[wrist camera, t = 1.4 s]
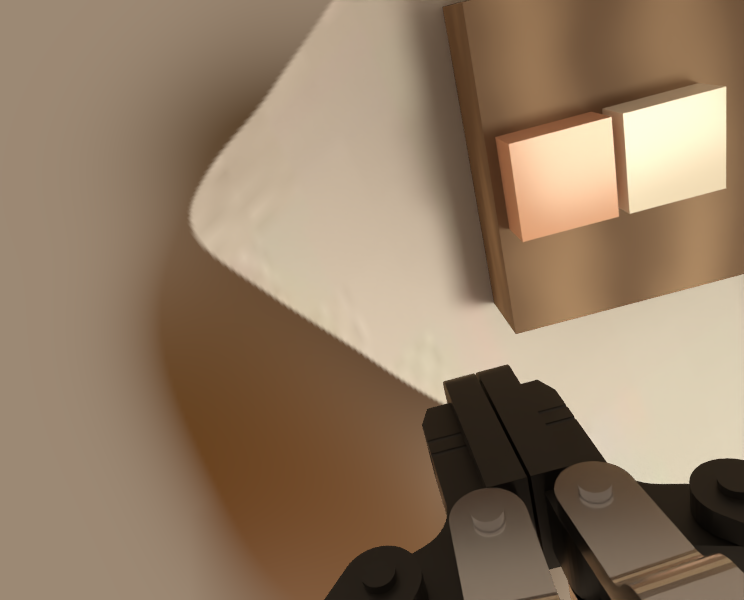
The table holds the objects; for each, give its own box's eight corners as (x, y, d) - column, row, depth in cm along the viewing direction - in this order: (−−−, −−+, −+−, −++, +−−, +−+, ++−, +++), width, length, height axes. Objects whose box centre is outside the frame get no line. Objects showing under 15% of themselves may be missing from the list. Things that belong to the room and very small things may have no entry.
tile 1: (698, 83, 28) (726, 86, 26) (699, 178, 29) (726, 188, 28) (602, 108, 28) (623, 113, 26) (609, 202, 29) (629, 213, 28)
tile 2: (591, 111, 28) (611, 116, 26) (599, 205, 29) (619, 216, 28) (495, 137, 28) (508, 144, 26) (509, 229, 29) (522, 242, 28)
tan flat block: (697, -62, 29) (754, -76, 25) (702, 248, 35) (747, 272, 32) (442, 6, 29) (462, 2, 25) (494, 303, 35) (516, 334, 32)
